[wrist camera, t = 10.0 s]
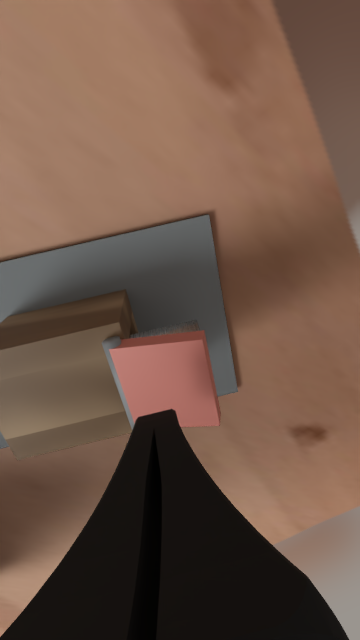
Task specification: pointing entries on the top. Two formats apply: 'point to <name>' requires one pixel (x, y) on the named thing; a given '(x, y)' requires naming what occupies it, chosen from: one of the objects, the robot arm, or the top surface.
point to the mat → (133, 283)
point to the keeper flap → (165, 377)
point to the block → (62, 375)
